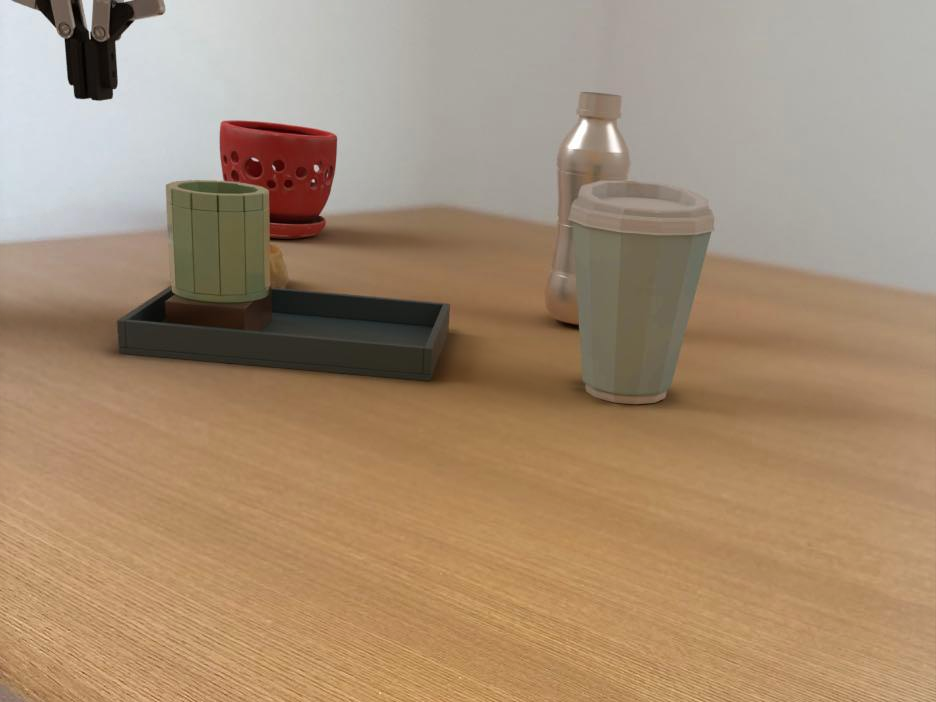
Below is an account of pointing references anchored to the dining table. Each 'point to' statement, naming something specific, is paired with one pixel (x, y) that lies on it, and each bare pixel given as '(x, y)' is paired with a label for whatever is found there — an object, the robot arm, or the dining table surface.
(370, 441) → the dining table surface
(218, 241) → the jar
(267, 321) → the riser
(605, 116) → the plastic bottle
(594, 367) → the disposable coffee cup
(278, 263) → the pastry
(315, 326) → the tray
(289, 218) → the flower pot
